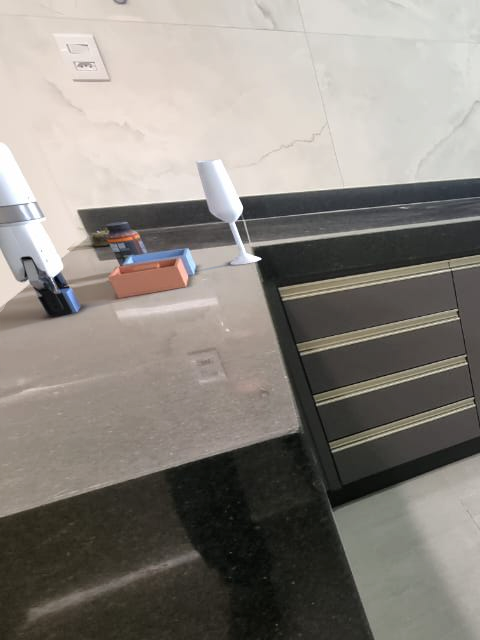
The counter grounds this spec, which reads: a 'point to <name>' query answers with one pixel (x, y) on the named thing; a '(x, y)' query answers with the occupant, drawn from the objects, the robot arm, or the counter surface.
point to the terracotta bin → (148, 278)
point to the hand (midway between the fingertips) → (64, 309)
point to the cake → (101, 238)
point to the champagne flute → (223, 201)
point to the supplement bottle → (124, 241)
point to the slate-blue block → (69, 299)
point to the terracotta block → (146, 267)
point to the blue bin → (164, 255)
